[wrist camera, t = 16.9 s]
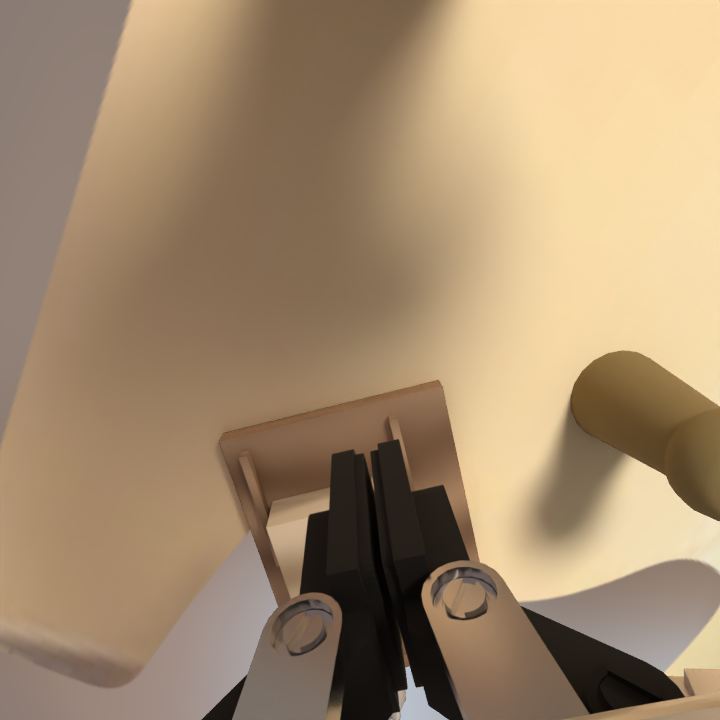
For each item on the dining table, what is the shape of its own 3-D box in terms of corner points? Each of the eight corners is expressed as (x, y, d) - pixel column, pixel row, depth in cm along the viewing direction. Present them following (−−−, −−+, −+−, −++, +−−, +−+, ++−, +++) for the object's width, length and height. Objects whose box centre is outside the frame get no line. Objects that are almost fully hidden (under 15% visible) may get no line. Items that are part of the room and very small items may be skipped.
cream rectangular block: (272, 501, 30) (266, 527, 28) (395, 471, 30) (400, 495, 27) (298, 578, 32) (295, 610, 29) (415, 550, 32) (422, 580, 29)
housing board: (223, 433, 30) (209, 458, 27) (438, 380, 30) (450, 398, 27) (308, 672, 36) (305, 717, 32) (491, 629, 35) (507, 670, 32)
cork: (683, 383, 31) (863, 466, 20) (619, 455, 32) (758, 568, 21) (614, 332, 30) (767, 390, 19) (551, 408, 31) (662, 503, 20)
